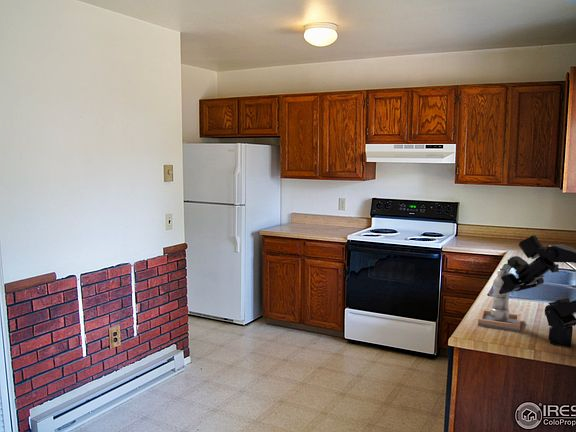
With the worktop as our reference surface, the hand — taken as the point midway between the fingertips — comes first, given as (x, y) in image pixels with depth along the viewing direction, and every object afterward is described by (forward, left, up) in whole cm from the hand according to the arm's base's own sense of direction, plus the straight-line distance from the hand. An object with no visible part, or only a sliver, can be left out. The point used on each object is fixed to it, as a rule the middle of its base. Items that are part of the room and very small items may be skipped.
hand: (507, 291), depth 187 cm
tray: (+2, -1, -13) cm, 13 cm away
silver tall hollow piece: (+2, -1, -12) cm, 12 cm away
